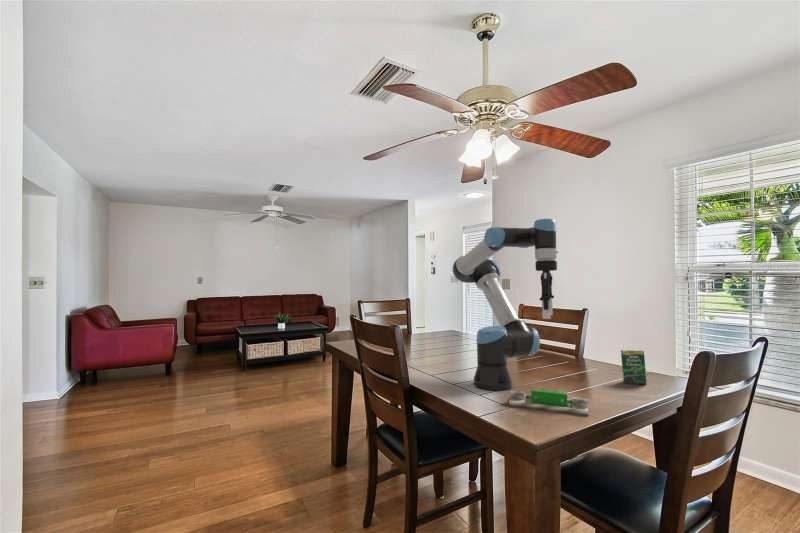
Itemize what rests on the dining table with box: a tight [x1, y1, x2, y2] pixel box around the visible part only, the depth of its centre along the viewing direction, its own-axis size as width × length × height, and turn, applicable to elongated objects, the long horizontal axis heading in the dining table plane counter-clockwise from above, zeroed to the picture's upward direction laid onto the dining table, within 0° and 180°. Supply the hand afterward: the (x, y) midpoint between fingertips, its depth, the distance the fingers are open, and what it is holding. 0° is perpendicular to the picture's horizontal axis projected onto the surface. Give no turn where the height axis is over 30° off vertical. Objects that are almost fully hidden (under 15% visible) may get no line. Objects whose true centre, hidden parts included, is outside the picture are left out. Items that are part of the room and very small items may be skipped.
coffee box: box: [620, 349, 647, 385], centre depth 148 cm, size 8×3×13 cm, turn 63°
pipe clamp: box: [530, 388, 568, 408], centre depth 123 cm, size 11×4×5 cm, turn 65°
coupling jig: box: [508, 390, 590, 417], centre depth 124 cm, size 25×10×4 cm, turn 65°
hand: (547, 317), depth 136 cm, fingers open, 13 cm apart
